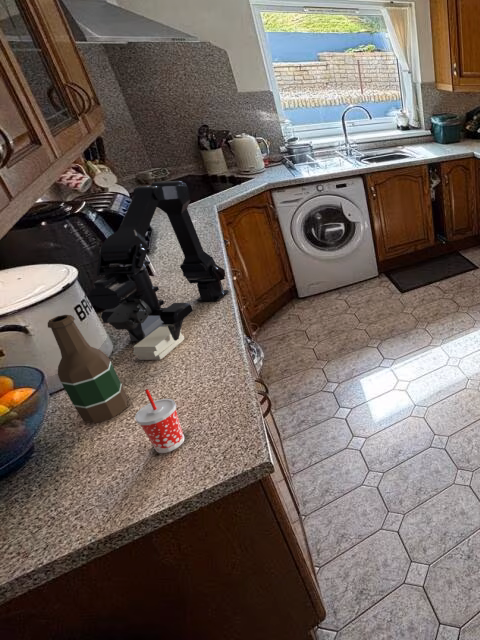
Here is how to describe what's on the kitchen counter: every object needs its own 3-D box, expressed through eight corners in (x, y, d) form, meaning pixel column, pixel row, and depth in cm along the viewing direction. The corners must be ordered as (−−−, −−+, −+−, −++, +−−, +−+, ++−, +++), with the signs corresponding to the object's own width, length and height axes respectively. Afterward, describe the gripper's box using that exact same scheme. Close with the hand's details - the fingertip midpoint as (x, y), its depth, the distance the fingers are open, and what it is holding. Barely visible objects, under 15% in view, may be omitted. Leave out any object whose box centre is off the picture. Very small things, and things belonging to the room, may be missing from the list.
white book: (161, 330, 113) (159, 326, 112) (181, 330, 113) (180, 326, 112) (134, 351, 105) (132, 346, 104) (157, 351, 105) (155, 346, 104)
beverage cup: (180, 453, 81) (155, 399, 75) (144, 458, 79) (116, 403, 74) (194, 429, 86) (173, 376, 80) (161, 433, 85) (137, 380, 79)
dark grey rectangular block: (160, 319, 123) (156, 309, 121) (175, 319, 123) (172, 309, 122) (129, 341, 113) (125, 331, 111) (146, 341, 113) (142, 331, 112)
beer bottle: (89, 430, 85) (36, 334, 75) (76, 414, 89) (24, 321, 79) (136, 406, 91) (92, 315, 81) (122, 393, 95) (79, 304, 85)
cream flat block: (162, 339, 114) (159, 330, 113) (185, 339, 114) (182, 330, 113) (135, 361, 105) (131, 352, 104) (159, 361, 106) (156, 352, 104)
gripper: (68, 304, 95) (95, 359, 101) (151, 305, 95) (173, 359, 102) (110, 282, 105) (132, 333, 111) (184, 282, 105) (202, 332, 112)
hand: (158, 339), depth 109 cm, fingers open, 9 cm apart
